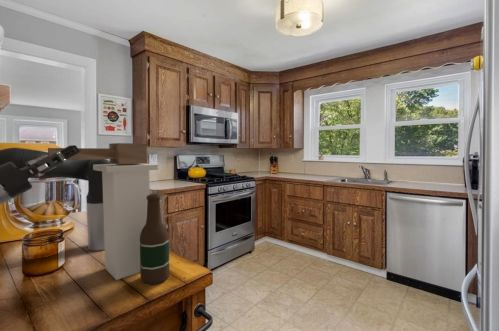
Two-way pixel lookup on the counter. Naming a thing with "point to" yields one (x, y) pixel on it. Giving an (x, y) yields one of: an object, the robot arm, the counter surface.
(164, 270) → the beer bottle
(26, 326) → the counter surface
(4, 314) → the counter surface
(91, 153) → the mallet
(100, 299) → the counter surface
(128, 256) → the stand
